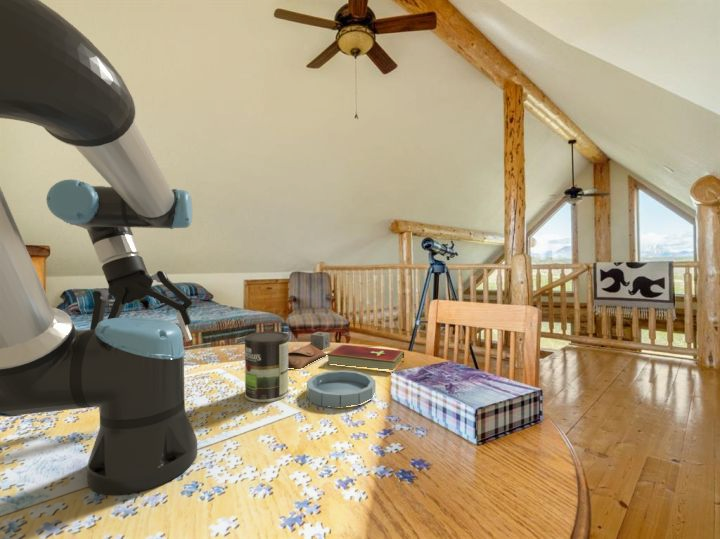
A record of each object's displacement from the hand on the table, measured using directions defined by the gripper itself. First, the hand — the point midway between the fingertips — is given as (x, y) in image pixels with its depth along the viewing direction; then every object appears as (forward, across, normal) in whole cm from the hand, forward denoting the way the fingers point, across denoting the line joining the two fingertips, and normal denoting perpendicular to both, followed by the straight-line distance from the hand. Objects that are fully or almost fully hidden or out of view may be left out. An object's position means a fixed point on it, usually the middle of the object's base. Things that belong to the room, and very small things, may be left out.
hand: (157, 352), depth 78 cm
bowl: (+25, -34, +1) cm, 42 cm away
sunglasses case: (+21, -30, -27) cm, 46 cm away
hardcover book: (+27, -46, -20) cm, 57 cm away
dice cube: (+22, -38, -42) cm, 60 cm away
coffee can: (+19, -18, -4) cm, 26 cm away
